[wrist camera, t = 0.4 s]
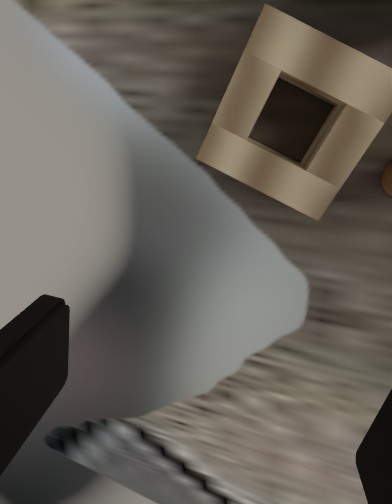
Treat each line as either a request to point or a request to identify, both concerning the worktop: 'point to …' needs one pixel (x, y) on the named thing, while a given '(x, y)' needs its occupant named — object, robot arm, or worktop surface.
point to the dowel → (387, 179)
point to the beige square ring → (314, 82)
